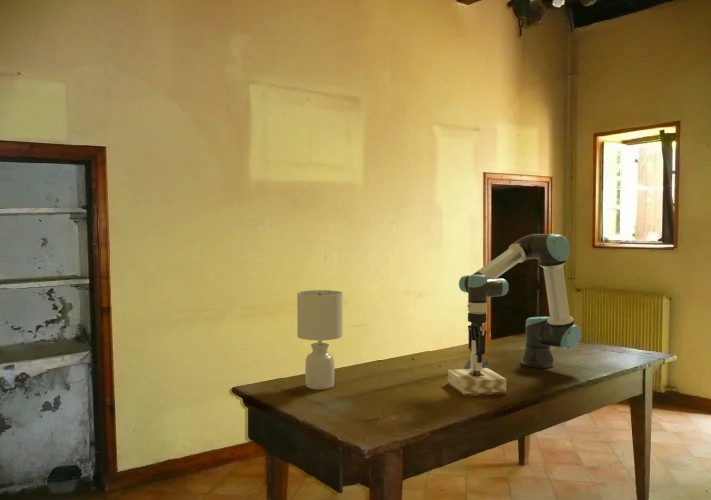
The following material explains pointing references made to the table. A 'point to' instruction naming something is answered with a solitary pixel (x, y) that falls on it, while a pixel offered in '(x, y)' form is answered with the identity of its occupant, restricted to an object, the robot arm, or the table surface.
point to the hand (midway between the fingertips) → (476, 368)
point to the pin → (473, 371)
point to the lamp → (319, 333)
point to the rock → (484, 364)
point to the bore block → (476, 382)
